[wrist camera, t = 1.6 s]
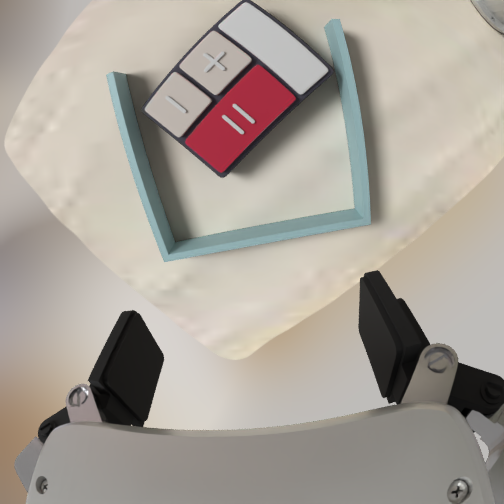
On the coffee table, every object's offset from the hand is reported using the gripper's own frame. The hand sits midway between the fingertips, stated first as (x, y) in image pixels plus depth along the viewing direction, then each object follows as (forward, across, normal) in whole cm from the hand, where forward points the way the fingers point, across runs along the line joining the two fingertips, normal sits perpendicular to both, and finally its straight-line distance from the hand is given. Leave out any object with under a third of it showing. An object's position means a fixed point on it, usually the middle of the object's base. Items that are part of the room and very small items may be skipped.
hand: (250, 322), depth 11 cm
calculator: (+21, 0, -11) cm, 24 cm away
